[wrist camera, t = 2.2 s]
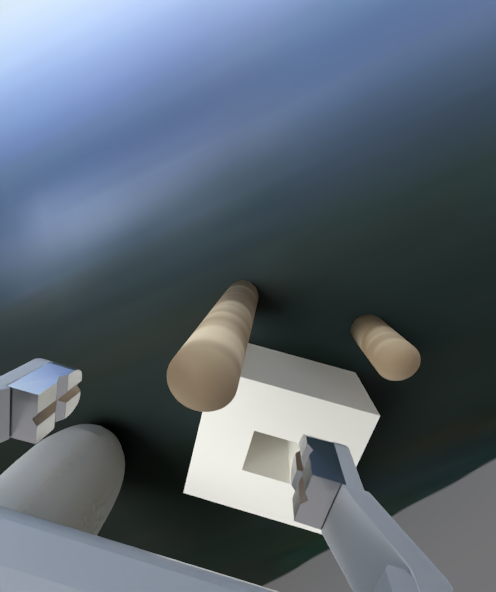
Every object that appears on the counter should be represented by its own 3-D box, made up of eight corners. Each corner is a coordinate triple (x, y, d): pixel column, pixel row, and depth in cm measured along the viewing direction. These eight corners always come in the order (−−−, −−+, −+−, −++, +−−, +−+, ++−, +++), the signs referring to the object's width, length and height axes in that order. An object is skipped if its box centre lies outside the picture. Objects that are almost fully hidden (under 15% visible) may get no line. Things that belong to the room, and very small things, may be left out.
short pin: (357, 310, 23) (384, 337, 17) (389, 319, 23) (427, 348, 17) (345, 339, 24) (368, 374, 18) (377, 348, 24) (410, 385, 18)
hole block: (226, 337, 25) (212, 369, 19) (355, 372, 25) (380, 415, 19) (201, 439, 29) (183, 492, 23) (313, 472, 28) (324, 534, 22)
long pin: (230, 276, 24) (173, 338, 10) (262, 285, 24) (245, 358, 10) (223, 306, 24) (161, 400, 11) (254, 314, 24) (228, 419, 11)
